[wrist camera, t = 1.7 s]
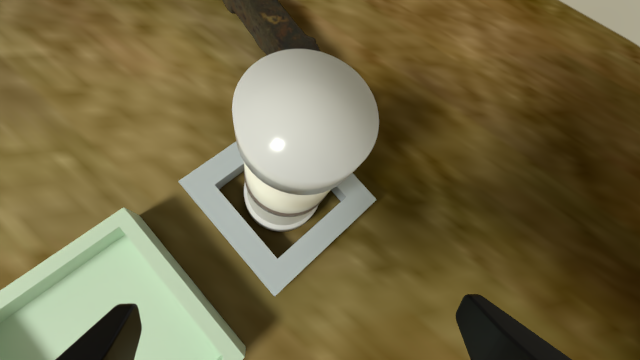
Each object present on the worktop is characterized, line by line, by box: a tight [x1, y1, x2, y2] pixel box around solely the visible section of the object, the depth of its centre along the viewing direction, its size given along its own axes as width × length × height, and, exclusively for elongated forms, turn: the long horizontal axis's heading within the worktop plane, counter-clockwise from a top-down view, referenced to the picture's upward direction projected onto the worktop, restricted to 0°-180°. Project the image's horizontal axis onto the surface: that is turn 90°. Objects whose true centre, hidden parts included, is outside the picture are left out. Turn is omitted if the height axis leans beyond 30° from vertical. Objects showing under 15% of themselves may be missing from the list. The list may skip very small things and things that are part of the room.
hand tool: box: [223, 0, 320, 55], centre depth 24 cm, size 19×4×5 cm, turn 35°
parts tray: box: [0, 207, 246, 360], centre depth 17 cm, size 11×10×2 cm
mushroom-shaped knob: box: [232, 49, 379, 232], centre depth 17 cm, size 5×5×12 cm
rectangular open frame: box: [178, 142, 377, 297], centre depth 22 cm, size 10×10×2 cm
